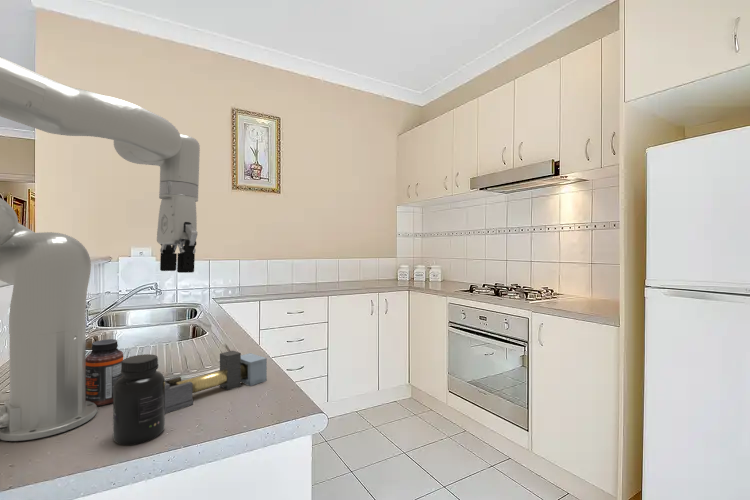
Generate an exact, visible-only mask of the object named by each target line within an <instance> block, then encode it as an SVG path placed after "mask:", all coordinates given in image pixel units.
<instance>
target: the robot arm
mask: <svg viewBox="0 0 750 500" xmlns="http://www.w3.org/2000/svg"><path fill="white" fill-rule="evenodd" d="M0 117H1V118H4V119H7V120H10V121H13V122H16V123H18V124H22V125H24V126H28V127H31V128H33V129H36V130H39V131H42V132H46V133H48V134H52V135H60V136H69V137H94V138H101V139H107V140H112V141H113V147H114V150H115V152H116V153H117V154H118V155H119V156H120V157H121V158H122V159H124V160H125V161H127V162H130V163H133V164H137V165H145V166H147V165H148V166H158V167H159V192H158V193H159V195H158V196H159V197H158V198H159V199H160V205H159V209H158V212H159V213H158V220H157V221H158V222H157V229H156V230H157V231H156V242H157V243H158V244H159V245H160V249H159V250H160V259H159V262H160V263H159V264H160V265H159V270H160V271H161V272H175V271H176V272H177V273H187V274H188V273H192V274H193V273H194V272H195V260H196V259H195V255H196V254H195V253H196V246H197V239H198V231H197V224H198V223H197V221H198V220H197V217H198V215H197V202H199V184H200V183H199V181H200V153H201V152H200V151H201V149H200V147H201V145H200V143H199V141H198V140H197V139H196V138H194V137H193V136H190V135H187V134H181V133H180V132H179V130H178V128H176V126H175V125H174V124H173V123H172V122H170V121H169V120H168V119H166V118H164V117H163V116H161V115H159V114H156V113H155V112H153V111H151V110H148V109H146V108H145V107H143V106H140V105H137V104H135V103H132V102H129V101H126V100H124V99H120V98H117V97H113V96H110V95H105V94H100V93H97V92H93V91H90V90H86V89H82V88H77V87H73V86H69V85H67V84H63V83H61V82H59V81H57V80H54V79H53V78H52V79H51V78H49V77H48V76H45V75H42V74H40V73H38V72H36V71H33V70H31V69H29V68H27V67H24V66H22V65H20V64H19V63H15V62H13V61H11V60H9V59H7V58H4V57H2V56H0ZM177 248H178V251H179V252H177V253H176V250H177ZM91 270H92V262H91V257H90V254H89V252H88V250H87V248H86V247H85V245H84V244H83V243H82V242H80V241H79V240H78V239H76V238H75V237H72V236H71V235H68V234H66V233H65V234H64V233H60V232H54V231H53V232H52V231H50V232H48V231H47V232H45V231H44V232H35V231H33V230H31V229H29V227H26V226H24V225H23V224H21V223H19V219H18V215H17V213H16V211H15V209H14V208H13V207H12V206H11V205H10V204H9V202H7V201H6V200H4V199H3V198H1V197H0V281H1V282H3V283H6V284H9V285H12V286H13V287H12V294H11V299H10V304H9V315H8V334H9V399H6V400H4V401H3V403H4V404H3V405H2V406H0V440H1V441H7V442H8V441H9V442H19V441H20V442H22V441H23V442H24V441H30V440H36V439H43V438H47V437H51V436H53V435H54V436H55V435H58V434H61V433H64V432H67V431H69V430H73V429H75V428H77V427H80V426H82V425H83V424H85V423H87V422H89V421H90V420H92V419H93V418H94V417H95V416H96V414H97V412H98V411H97V410H98V406H96V404H95V403H93V402H90V401H86V357H87V355H86V353H87V352H86V351H87V348H86V347H87V345H86V344H87V343H86V341H87V340H86V337H87V336H86V333H87V331H86V330H87V329H86V326H87V325H86V313H87V312H86V308H87V307H86V306H87V293H88V288H89V287H88V286H89V282H90V279H91V277H90V276H91Z"/></svg>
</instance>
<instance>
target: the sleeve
mask: <svg viewBox="0 0 750 500" xmlns="http://www.w3.org/2000/svg"><path fill="white" fill-rule="evenodd" d="M180 381H182V377H181V376H179V375H178V376H174V377H170V378H167V379H166V378H165V414H168V413H170V412H174V411H176V410H178V411H179V410H180V409H184V408H186V407H189V406H192V405H194V400H193V393H192V382H186V383H183V384H179V385H175V383H176V382H180ZM174 385H175V386H174Z"/></svg>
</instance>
